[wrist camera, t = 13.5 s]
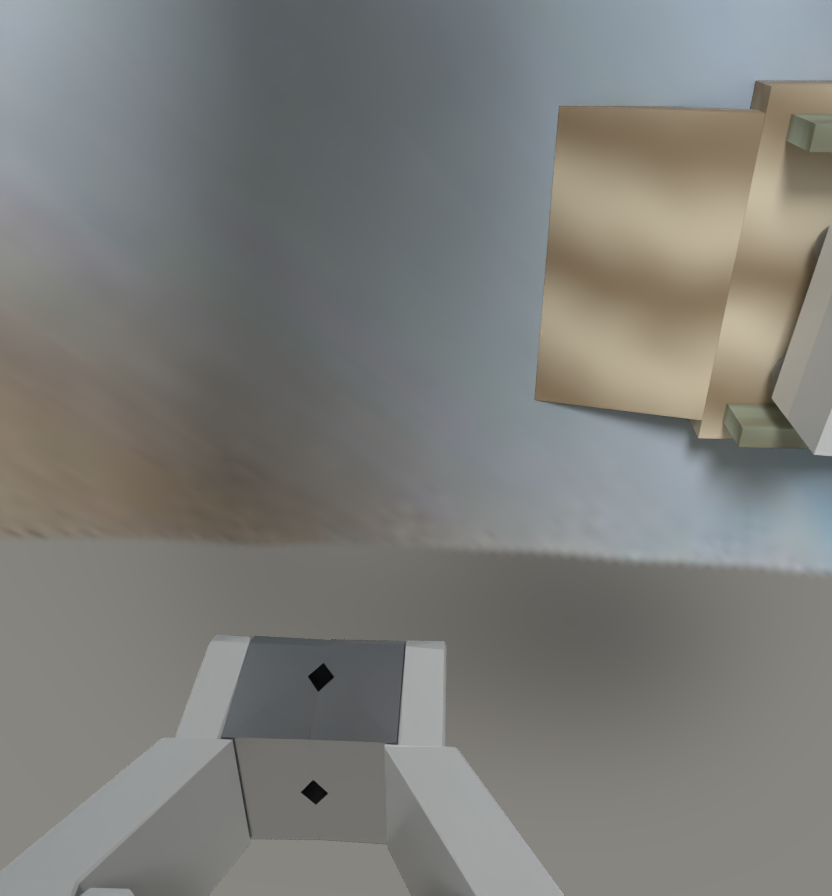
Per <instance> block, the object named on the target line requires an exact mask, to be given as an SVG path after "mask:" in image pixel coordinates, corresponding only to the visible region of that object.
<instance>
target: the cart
mask: <svg viewBox="0 0 832 896" xmlns="http://www.w3.org/2000/svg"><path fill="white" fill-rule="evenodd" d="M814 251H815V256H816V258H817V260H818V262H817V265H816V268H815V271H814V274H813V276H812V279H811V282H810V285H809V288H808V291H807V294H806V297H805V300H804V303H803V306H802V309H801V312H800V315H799V318H798V321H797V324H796V327H795V330H794V333H793V336H792V339H791V342H790V344H789V347H788V350H787V353H786V356H785V357H783V358H782V359H780V360H779V361H778V362H777V363H776V365H775V367H774V369H773V372H772V381H773V384H774V386H775V389H774V392H773V395H772V400H773V401H774V402H775V404H776V405H777V406H778V408H779V409H780V410H781V412H782V413H783V414H784V416H785V417H786V418H787V420H788V421H789V422H790V424H791V425H792V426H793V428H794V429H795V430H796V432H797V433H798V434H799V436H800V437H801V438H802V440H803V441H804V442H805V444H806V445H807V446H808V448H809V449H810V450H811V452H812V453H813V454H814V455H824V456H832V224H830V226H828V227H827V228H825V229H824V230H823V231H822V232H821V233H820V234H819V236H818V238H817V240H816V242H815V247H814Z"/></svg>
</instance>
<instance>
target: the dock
mask: <svg viewBox="0 0 832 896" xmlns="http://www.w3.org/2000/svg"><path fill="white" fill-rule="evenodd" d="M830 224H832V81H756V83H755V88H754V93H753V98H752V103H751V108H750V110H748V109H719V108H690V107H662V106H559V114H558V126H557V138H556V150H555V162H554V174H553V186H552V198H551V210H550V222H549V234H548V246H547V258H546V270H545V282H544V294H543V306H542V318H541V330H540V342H539V354H538V366H537V378H536V390H535V400H540V401H548V402H556V403H564V404H572V405H581V406H589V407H597V408H605V409H613V410H621V411H630V412H638V413H646V414H654V415H662V416H670V417H679V418H687V419H689V422H690V423H691V425H692V427H693V429H694V431H695V433H696V435H697V437H698V438H709V439H734V441H735V442H736V444H737V446H738V447H758V448H808V446H807V445H806V444H805V442H804V441H803V440H802V438H801V437H800V436H799V434H798V433H797V432H796V430H795V429H794V428H793V426H792V425H791V424H790V422H789V421H788V420H787V418H786V417H785V416H784V414H783V413H782V412H781V410H780V409H779V408H778V406H777V405H776V404H775V402H774V401H773V400H772V395H773V392H774V389H775V386H774V384H773V381H772V372H773V369H774V367H775V365H776V363H777V362H778V361H779V360H780V359H782V358H783V357H785V356H786V353H787V350H788V347H789V344H790V342H791V339H792V336H793V333H794V330H795V327H796V324H797V321H798V318H799V315H800V312H801V309H802V306H803V303H804V300H805V297H806V294H807V291H808V288H809V285H810V282H811V279H812V276H813V274H814V271H815V268H816V265H817V262H818V260H817V258H816V256H815V251H814V247H815V242H816V240H817V238H818V236H819V234H820V233H821V232H822V231H823V230H824V229H825V228H827V227H828V226H830Z"/></svg>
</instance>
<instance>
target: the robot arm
mask: <svg viewBox="0 0 832 896" xmlns="http://www.w3.org/2000/svg"><path fill="white" fill-rule="evenodd" d="M445 710H446V644H445V642H444V641H407V642H406V641H389V640H388V641H387V640H337V639H331V640H323V639H304V638H303V639H302V638H286V637H285V638H284V637H267V636H254V637H250V636H232V635H215V637H214V638H213V639H212V640H211V641H210V643H209V644H208V647H207V650H206V652H205V655H204V658H203V660H202V663H201V666H200V669H199V671H198V674H197V677H196V679H195V682H194V685H193V687H192V690H191V693H190V695H189V698H188V701H187V703H186V706H185V709H184V712H183V714H182V717H181V720H180V722H179V725H178V728H177V731H176V733H175V736H174V737H162V738H161V739H159V740H158V741H157V742H156V743H155V744H153V745H152V746H151V747H150V748H148V749H147V750H146V751H145V752H144V753H142V754H141V755H140V756H139V757H138V758H137V759H135V760H134V761H133V762H132V763H130V764H129V765H128V766H127V767H126V768H124V769H123V770H122V771H121V772H120V773H118V774H117V775H116V776H115V777H114V778H112V779H111V780H110V781H109V782H107V783H106V784H105V785H104V786H103V787H101V788H100V789H99V790H98V791H97V792H95V793H94V794H93V795H92V796H91V797H89V798H88V799H87V800H86V801H84V803H82V804H81V805H80V806H78V807H77V808H76V809H75V810H74V811H72V812H71V813H70V814H69V815H68V816H66V817H65V818H64V819H63V820H62V821H60V822H59V823H58V824H57V825H55V827H53V828H52V829H51V830H49V831H48V832H47V833H46V834H45V835H43V837H41V838H40V839H39V840H37V841H36V842H35V843H34V844H33V845H31V846H30V847H29V848H28V849H27V850H25V851H24V852H23V853H22V854H20V856H18V857H17V858H16V859H14V861H12V862H11V863H10V864H9V865H7V866H6V867H5V868H4V869H2V870H1V871H0V896H209V895H210V893H211V892H212V891H213V890H214V888H215V887H216V886H217V884H218V883H219V882H220V881H221V880H222V878H223V877H224V876H225V875H226V874H227V872H228V871H229V870H230V868H231V867H232V866H233V865H234V864H235V862H236V861H237V860H238V858H240V856H241V855H242V854H243V853H244V851H245V850H246V849H247V848H248V846H249V845H250V839H289V840H297V839H298V840H329V841H345V842H359V843H375V844H388V849H389V852H390V853H391V856H392V858H393V859H394V862H395V864H396V865H397V868H398V870H399V872H400V874H401V876H402V878H403V880H404V882H405V884H406V886H407V888H408V890H409V892H410V894H411V896H565V895H564V894H563V893H562V891H561V890H560V889H559V888H558V886H557V884H556V883H555V882H554V880H553V879H552V878H551V876H550V875H549V873H548V872H547V871H546V869H545V868H544V866H543V865H542V864H541V862H540V861H539V860H538V858H537V857H536V855H535V854H534V853H533V851H532V850H531V849H530V847H529V846H528V844H527V843H526V842H525V840H524V839H523V837H522V836H521V835H520V833H519V832H518V831H517V829H516V828H515V827H514V825H513V824H512V822H511V821H510V820H509V818H508V817H507V815H506V814H505V813H504V811H503V810H502V808H501V807H500V806H499V804H498V803H497V802H496V800H495V799H494V798H493V796H492V795H491V793H490V792H489V791H488V789H487V788H486V786H485V785H484V784H483V782H482V781H481V780H480V778H479V777H478V775H477V774H476V773H475V771H474V770H473V768H472V767H471V766H470V764H469V763H468V762H467V760H466V759H465V758H464V756H463V755H462V753H461V752H460V751H459V749H458V748H457V747H445V722H446V721H445V719H446V717H445V716H446V715H445V714H446V711H445Z"/></svg>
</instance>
